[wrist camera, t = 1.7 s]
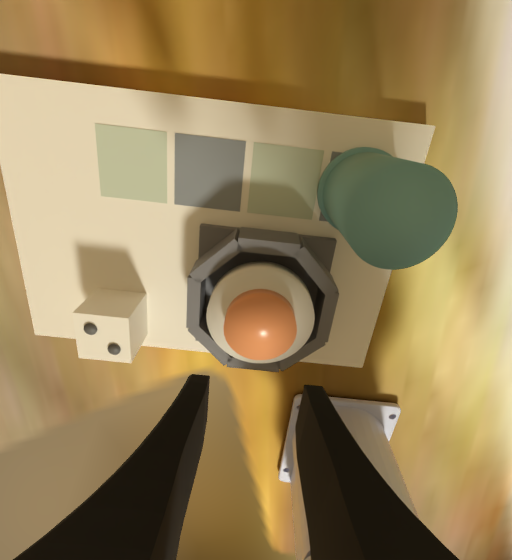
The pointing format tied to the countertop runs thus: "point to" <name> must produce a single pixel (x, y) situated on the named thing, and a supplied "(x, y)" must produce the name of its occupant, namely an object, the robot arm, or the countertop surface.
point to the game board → (180, 214)
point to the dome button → (260, 312)
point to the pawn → (387, 206)
